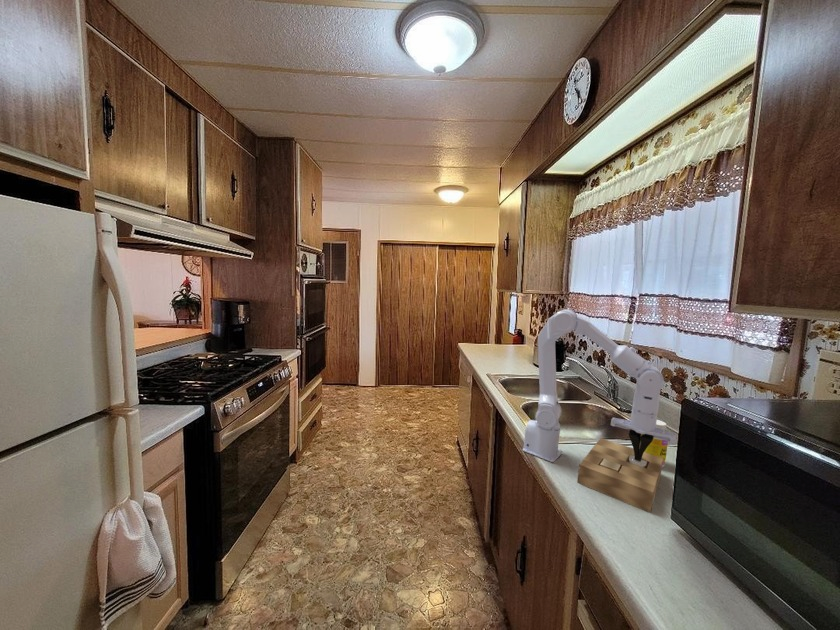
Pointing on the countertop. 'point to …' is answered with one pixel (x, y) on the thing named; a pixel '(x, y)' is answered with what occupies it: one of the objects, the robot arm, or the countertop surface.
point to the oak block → (621, 474)
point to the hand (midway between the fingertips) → (638, 459)
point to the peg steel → (636, 462)
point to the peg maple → (610, 465)
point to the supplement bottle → (658, 444)
